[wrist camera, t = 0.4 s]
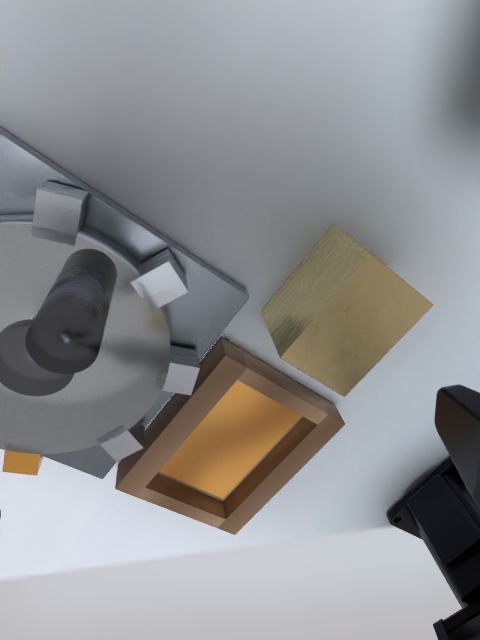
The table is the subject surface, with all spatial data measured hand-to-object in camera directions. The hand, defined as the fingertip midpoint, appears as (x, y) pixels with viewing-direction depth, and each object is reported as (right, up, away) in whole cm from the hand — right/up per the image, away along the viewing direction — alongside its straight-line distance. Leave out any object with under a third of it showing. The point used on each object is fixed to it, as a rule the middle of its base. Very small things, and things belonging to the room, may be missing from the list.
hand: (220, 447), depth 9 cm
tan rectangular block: (+4, +4, +12) cm, 13 cm away
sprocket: (-8, +2, +10) cm, 13 cm away
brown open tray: (0, -3, +15) cm, 15 cm away
